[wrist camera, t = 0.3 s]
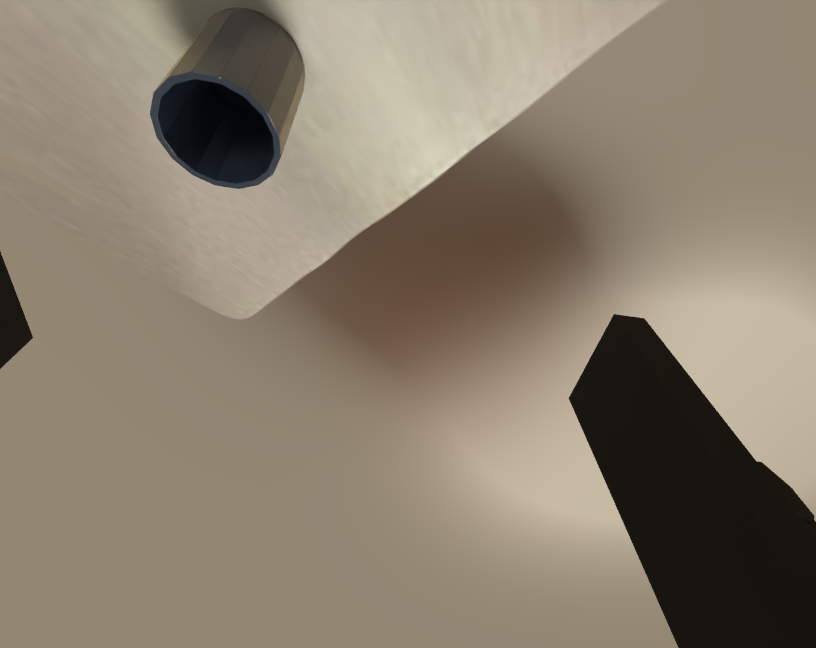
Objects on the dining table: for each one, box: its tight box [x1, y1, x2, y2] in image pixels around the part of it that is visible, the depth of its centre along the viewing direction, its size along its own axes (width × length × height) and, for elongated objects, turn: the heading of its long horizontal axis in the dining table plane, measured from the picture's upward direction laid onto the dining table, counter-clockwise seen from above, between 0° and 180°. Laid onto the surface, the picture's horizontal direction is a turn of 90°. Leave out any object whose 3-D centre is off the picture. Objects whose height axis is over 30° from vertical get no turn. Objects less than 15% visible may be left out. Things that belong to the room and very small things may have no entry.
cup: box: [150, 8, 305, 189], centre depth 29 cm, size 7×7×9 cm
